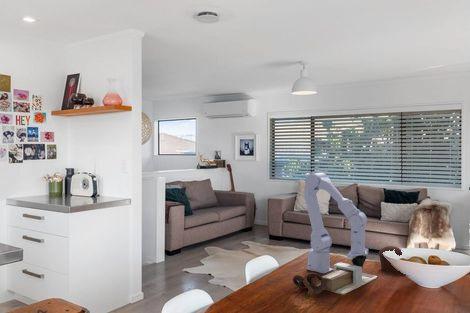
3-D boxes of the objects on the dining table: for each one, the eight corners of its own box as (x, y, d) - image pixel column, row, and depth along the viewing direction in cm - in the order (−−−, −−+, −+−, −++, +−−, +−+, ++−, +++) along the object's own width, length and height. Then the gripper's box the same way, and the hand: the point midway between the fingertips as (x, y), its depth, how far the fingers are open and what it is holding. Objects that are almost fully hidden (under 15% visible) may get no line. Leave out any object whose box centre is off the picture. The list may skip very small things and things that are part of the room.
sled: (321, 288, 151) (321, 276, 151) (346, 277, 165) (346, 266, 165) (332, 291, 148) (332, 279, 148) (356, 279, 161) (356, 268, 161)
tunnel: (316, 287, 155) (316, 270, 155) (351, 271, 175) (351, 256, 175) (343, 294, 147) (343, 276, 147) (377, 277, 167) (377, 261, 167)
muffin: (375, 270, 178) (375, 247, 177) (381, 264, 187) (380, 243, 187) (404, 274, 171) (404, 251, 171) (407, 267, 181) (407, 246, 181)
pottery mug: (321, 288, 155) (326, 274, 151) (319, 307, 147) (324, 292, 143) (291, 279, 157) (296, 264, 153) (288, 297, 149) (292, 282, 145)
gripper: (358, 245, 159) (358, 278, 159) (374, 239, 169) (375, 271, 169) (342, 242, 164) (342, 275, 164) (359, 237, 174) (360, 268, 174)
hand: (358, 273), depth 167 cm, fingers closed
